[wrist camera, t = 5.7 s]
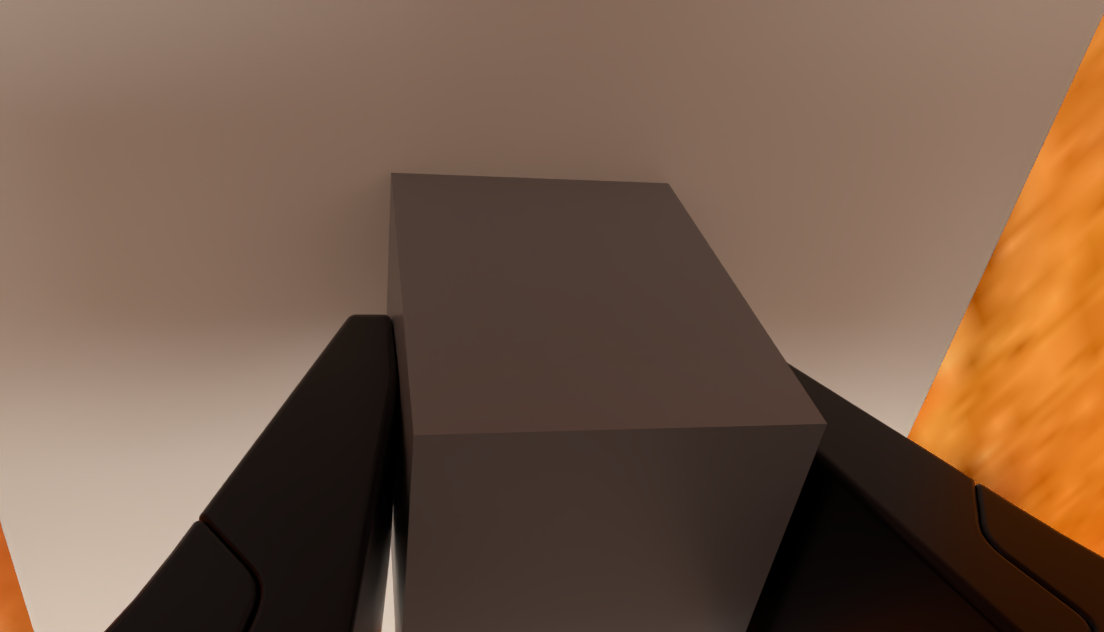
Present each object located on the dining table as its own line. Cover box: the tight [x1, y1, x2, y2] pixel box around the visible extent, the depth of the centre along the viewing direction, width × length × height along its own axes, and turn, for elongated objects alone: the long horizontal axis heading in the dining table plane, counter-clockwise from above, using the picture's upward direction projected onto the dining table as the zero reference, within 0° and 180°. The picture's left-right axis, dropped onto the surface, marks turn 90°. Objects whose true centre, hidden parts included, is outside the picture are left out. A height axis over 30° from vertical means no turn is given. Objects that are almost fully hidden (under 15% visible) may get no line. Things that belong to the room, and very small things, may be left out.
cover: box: [0, 0, 1104, 632], centre depth 9 cm, size 12×12×5 cm
